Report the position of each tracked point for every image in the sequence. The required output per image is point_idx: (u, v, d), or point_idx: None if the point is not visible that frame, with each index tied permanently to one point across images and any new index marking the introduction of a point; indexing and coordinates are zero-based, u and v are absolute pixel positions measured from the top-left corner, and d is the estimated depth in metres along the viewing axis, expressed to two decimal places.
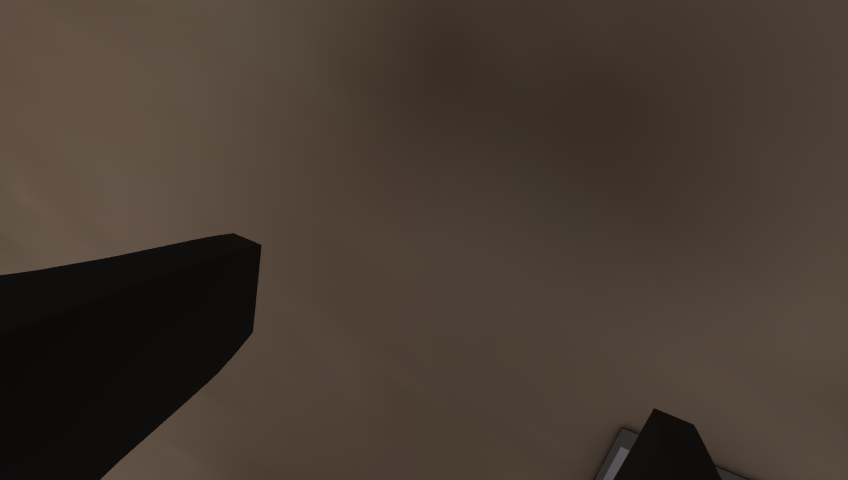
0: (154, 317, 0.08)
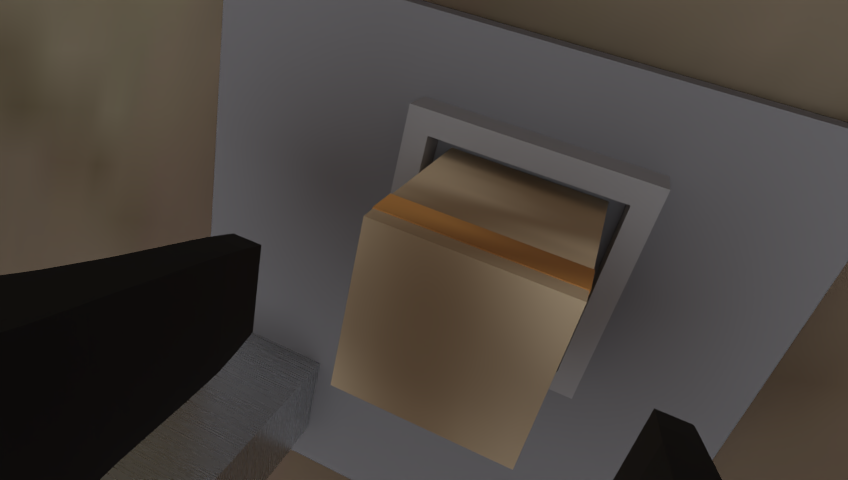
0: (154, 317, 0.08)
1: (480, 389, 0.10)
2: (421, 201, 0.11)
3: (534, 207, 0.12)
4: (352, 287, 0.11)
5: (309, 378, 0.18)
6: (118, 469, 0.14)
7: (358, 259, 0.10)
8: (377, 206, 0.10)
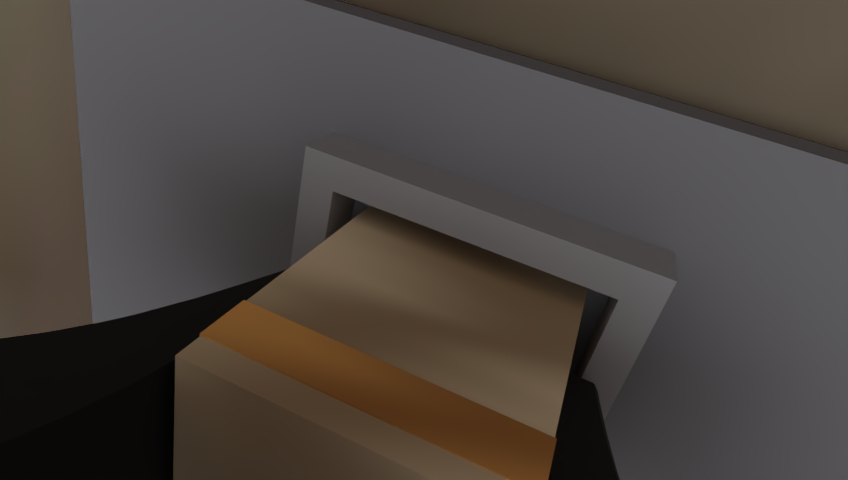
0: None
1: None
2: (293, 310, 0.07)
3: (476, 305, 0.08)
4: (182, 449, 0.07)
5: None
6: None
7: (179, 416, 0.06)
8: (207, 332, 0.06)
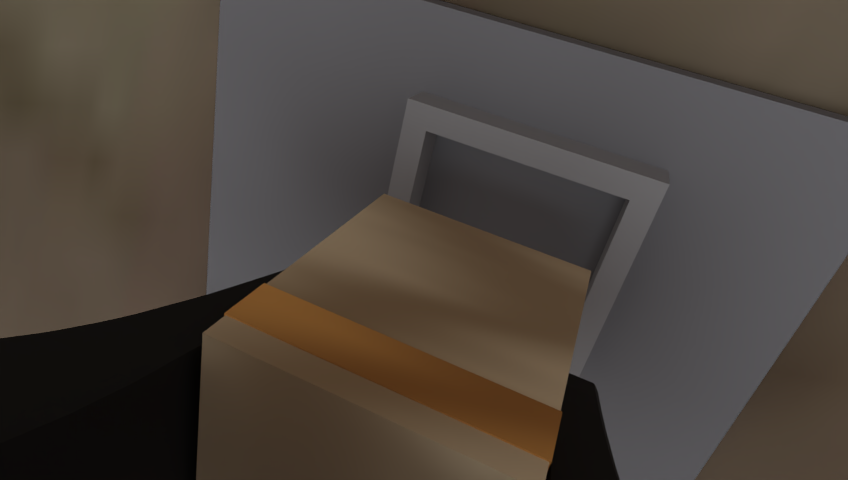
0: None
1: None
2: (311, 293, 0.07)
3: (483, 290, 0.08)
4: (206, 424, 0.07)
5: None
6: None
7: (204, 391, 0.07)
8: (232, 312, 0.07)
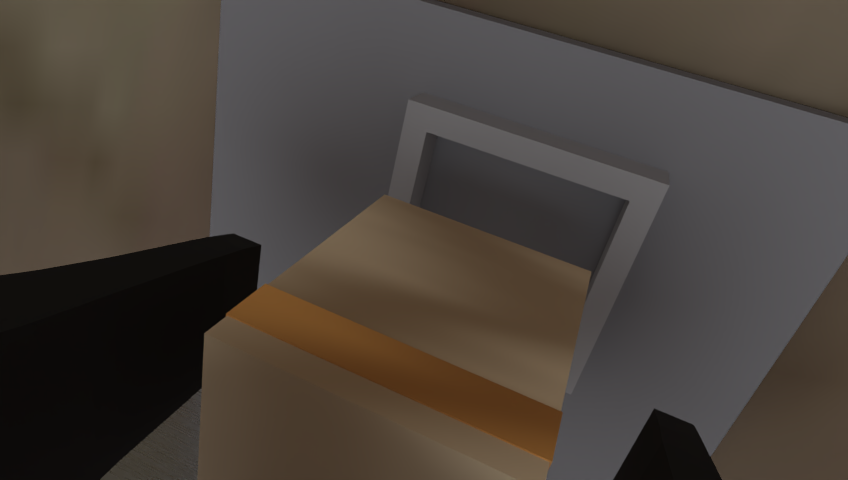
0: (154, 317, 0.08)
1: None
2: (312, 294, 0.07)
3: (484, 291, 0.08)
4: (207, 424, 0.07)
5: None
6: (118, 466, 0.14)
7: (206, 392, 0.07)
8: (233, 312, 0.07)
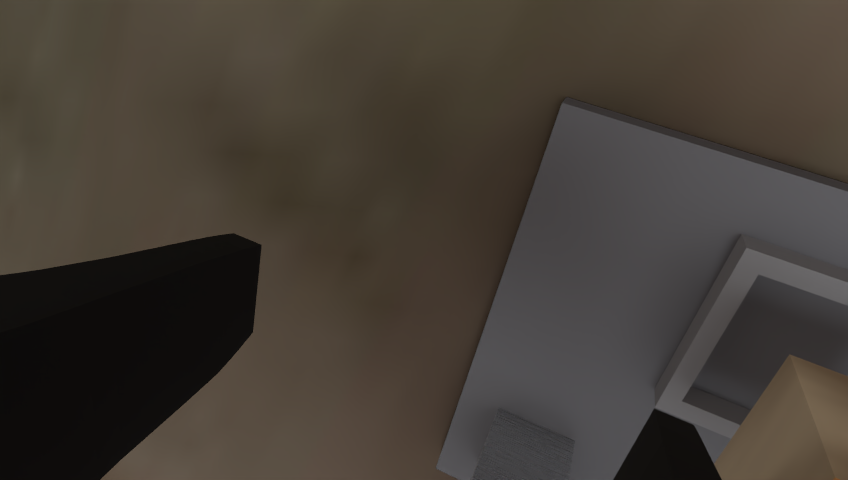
0: (154, 317, 0.08)
1: None
2: None
3: None
4: None
5: None
6: None
7: None
8: None
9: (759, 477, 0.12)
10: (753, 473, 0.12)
